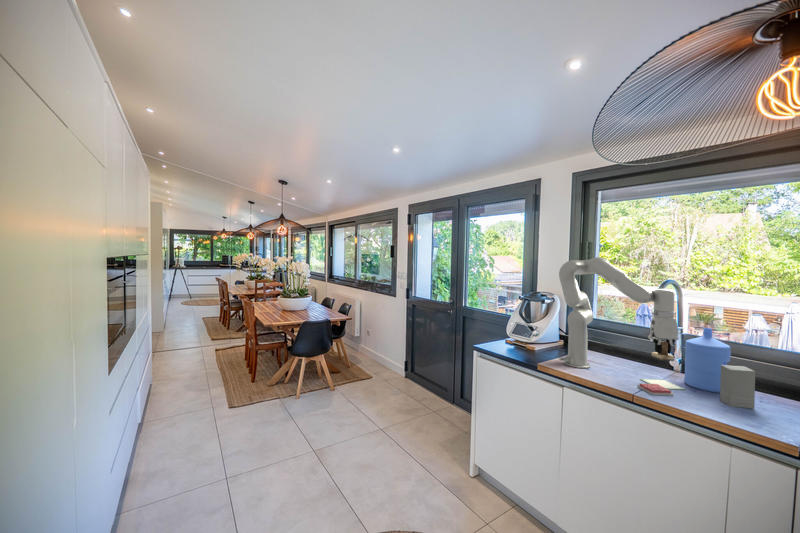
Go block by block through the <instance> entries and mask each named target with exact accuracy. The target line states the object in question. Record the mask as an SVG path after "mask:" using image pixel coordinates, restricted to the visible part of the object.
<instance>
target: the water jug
mask: <svg viewBox="0 0 800 533" xmlns="http://www.w3.org/2000/svg"><path fill="white" fill-rule="evenodd" d="M702 330H703V331H702V336H699V337H694V338H690V339H687V340H685V345H684V350H685V351H684V352H685V357H684V358H685V359H684V376H683V377H684V380H683V381H684V383H685V384H686V385H688V386H690V387H692V388H695V389H698V390H701V391H704V392H705V391H706V392H711V393H716V394H717V393H719V394H720V383H721V365H728V363H729V362H730V361H731V355H732V350H731V346H730V345H728V344H726V343H724V342H723V341H720V340H718V339H716V338H714V337H713V328H708V327H702Z"/></svg>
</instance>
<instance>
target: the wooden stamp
mask: <svg viewBox="0 0 800 533" xmlns="http://www.w3.org/2000/svg"><path fill="white" fill-rule="evenodd" d="M660 345H662V353H657V352H655V351H653V352H651V357H652V358H653V359H656V360H659V361H660V362H661V361H663V362H664V361H668V362H669V361H670V362H673V361H674V362H675V355H672V354H669V353H668V342H665V340H661V344H660Z"/></svg>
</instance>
